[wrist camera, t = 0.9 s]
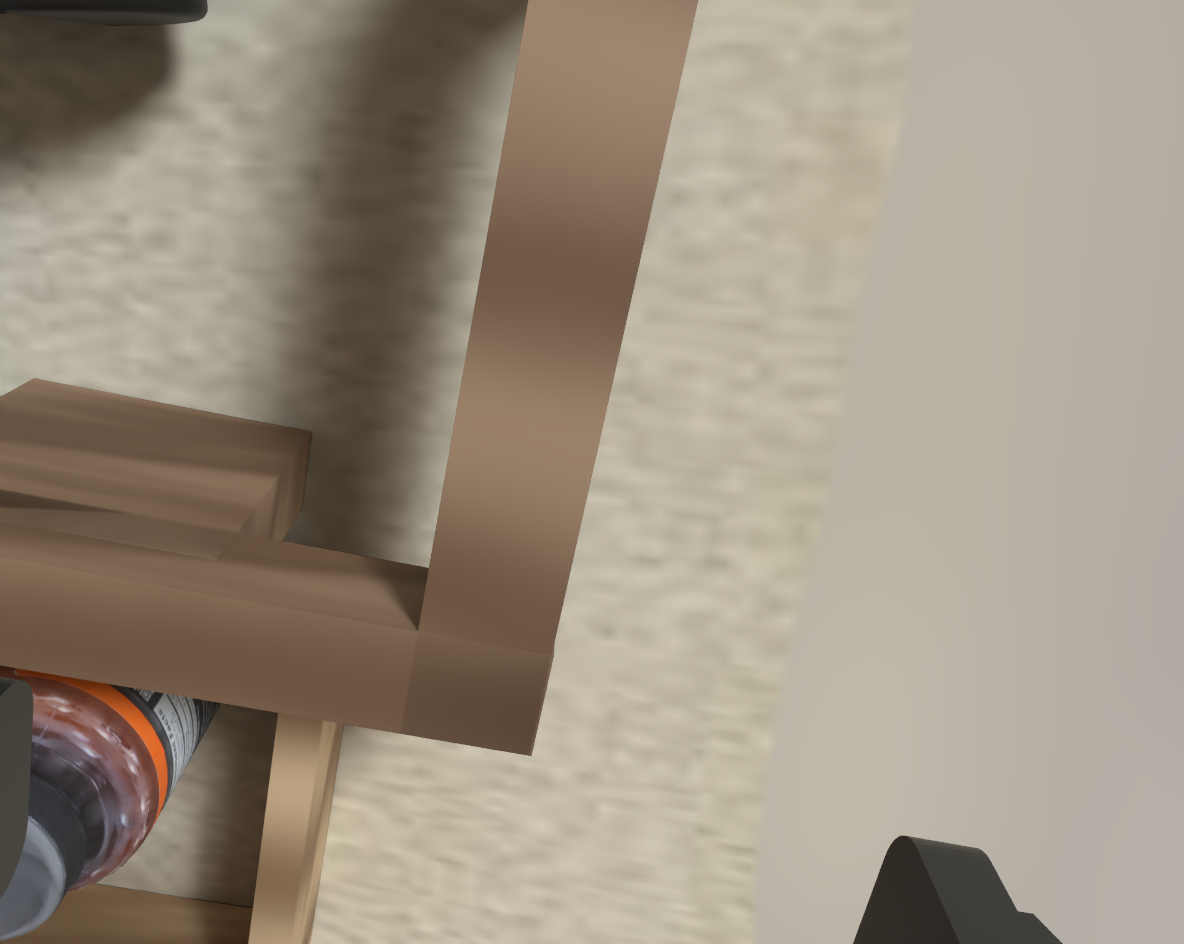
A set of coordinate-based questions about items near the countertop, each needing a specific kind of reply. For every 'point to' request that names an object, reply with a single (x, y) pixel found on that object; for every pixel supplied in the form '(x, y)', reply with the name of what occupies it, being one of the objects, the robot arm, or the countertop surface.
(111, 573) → the walnut crook
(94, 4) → the black box
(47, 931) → the light wood frame
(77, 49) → the countertop surface
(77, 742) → the supplement bottle
